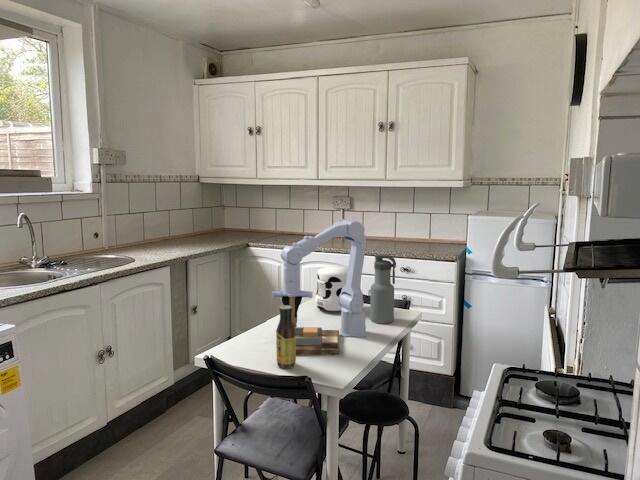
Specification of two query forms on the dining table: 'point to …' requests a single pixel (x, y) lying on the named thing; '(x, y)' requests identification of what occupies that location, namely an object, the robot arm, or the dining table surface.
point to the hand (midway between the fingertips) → (292, 316)
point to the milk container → (330, 288)
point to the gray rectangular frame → (307, 339)
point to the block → (310, 332)
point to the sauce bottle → (286, 339)
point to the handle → (293, 310)
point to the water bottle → (382, 290)
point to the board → (327, 347)
